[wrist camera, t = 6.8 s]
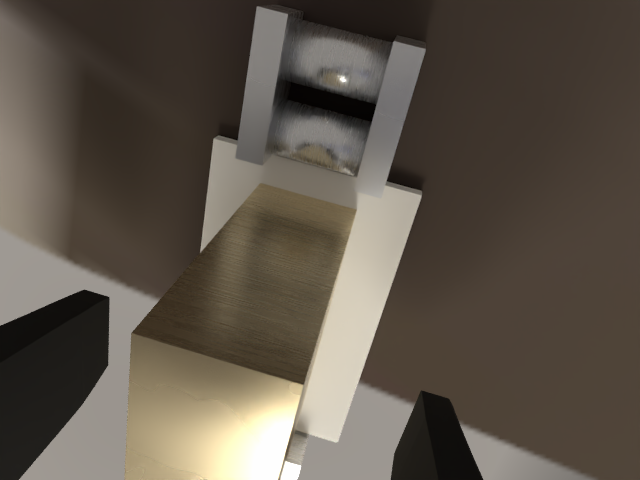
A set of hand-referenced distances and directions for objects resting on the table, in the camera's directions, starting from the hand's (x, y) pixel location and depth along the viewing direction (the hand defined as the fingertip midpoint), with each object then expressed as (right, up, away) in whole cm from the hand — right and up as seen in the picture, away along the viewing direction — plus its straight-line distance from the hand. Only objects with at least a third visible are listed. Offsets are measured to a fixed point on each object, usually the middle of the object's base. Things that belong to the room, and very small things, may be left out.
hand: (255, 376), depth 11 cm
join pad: (+1, +1, +3) cm, 3 cm away
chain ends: (+1, +1, +3) cm, 3 cm away
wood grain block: (0, +1, +2) cm, 3 cm away
